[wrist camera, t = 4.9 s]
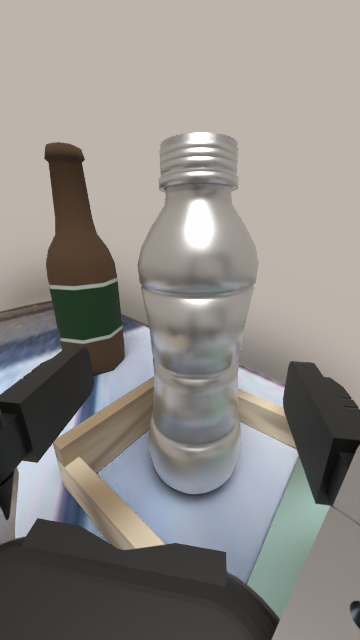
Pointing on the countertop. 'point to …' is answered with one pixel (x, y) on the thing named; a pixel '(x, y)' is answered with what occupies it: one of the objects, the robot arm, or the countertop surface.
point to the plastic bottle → (197, 311)
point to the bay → (131, 532)
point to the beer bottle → (81, 267)
